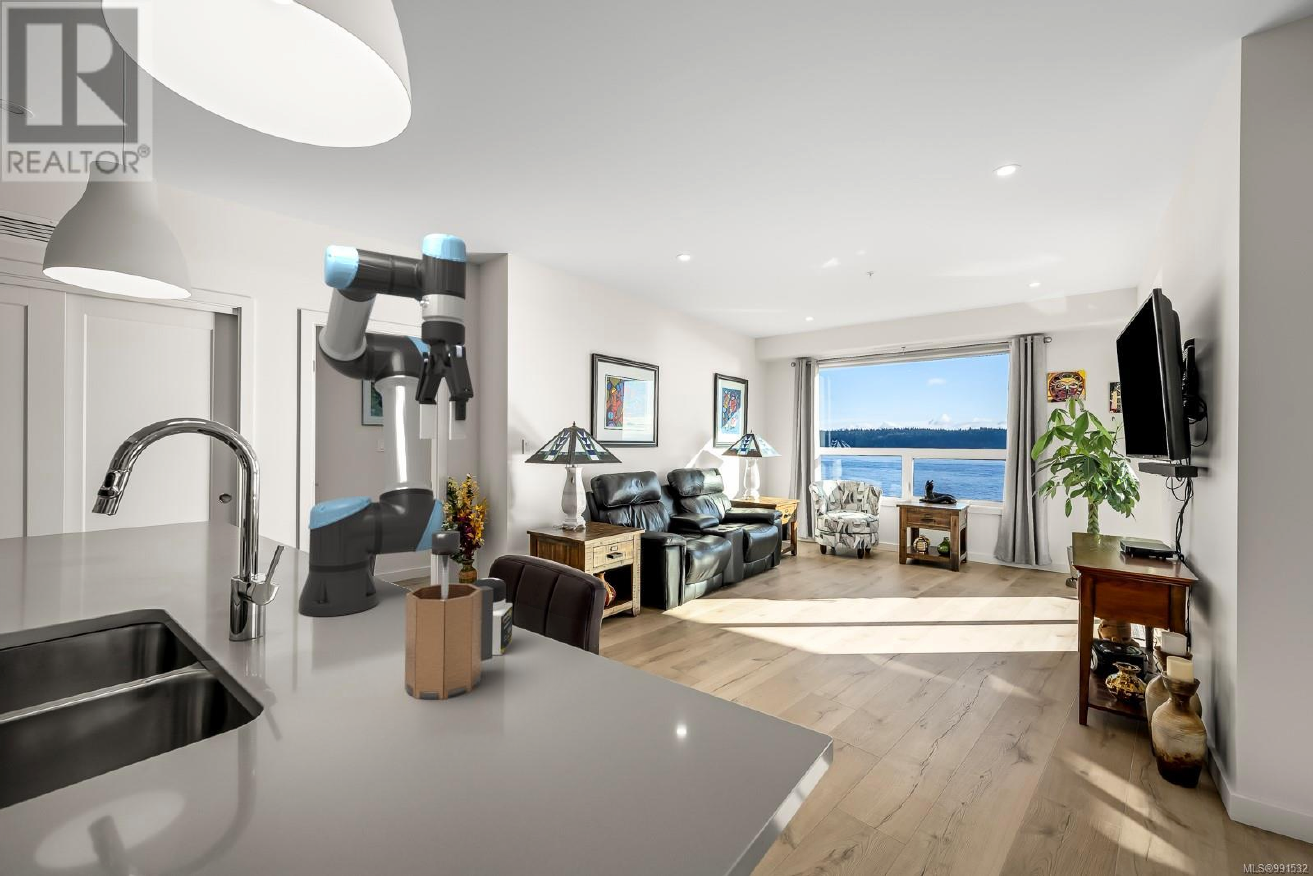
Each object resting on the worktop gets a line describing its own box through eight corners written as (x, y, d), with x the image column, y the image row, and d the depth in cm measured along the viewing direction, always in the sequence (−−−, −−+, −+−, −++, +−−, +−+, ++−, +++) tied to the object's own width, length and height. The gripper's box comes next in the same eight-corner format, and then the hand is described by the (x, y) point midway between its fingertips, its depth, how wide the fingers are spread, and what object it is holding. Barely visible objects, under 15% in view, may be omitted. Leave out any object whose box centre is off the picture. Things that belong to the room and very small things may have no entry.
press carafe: (395, 682, 90) (397, 590, 90) (473, 662, 98) (475, 577, 98) (421, 706, 82) (423, 605, 82) (504, 682, 90) (505, 590, 90)
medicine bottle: (501, 656, 101) (502, 585, 101) (459, 655, 101) (461, 585, 101) (512, 641, 108) (513, 576, 108) (473, 640, 108) (474, 575, 108)
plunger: (408, 675, 90) (410, 531, 89) (457, 663, 95) (459, 527, 95) (428, 692, 84) (430, 539, 84) (478, 678, 89) (480, 533, 89)
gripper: (398, 328, 115) (396, 438, 115) (452, 309, 96) (450, 440, 96) (436, 333, 120) (435, 438, 120) (494, 316, 101) (492, 440, 101)
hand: (441, 439), depth 108 cm, fingers open, 13 cm apart
